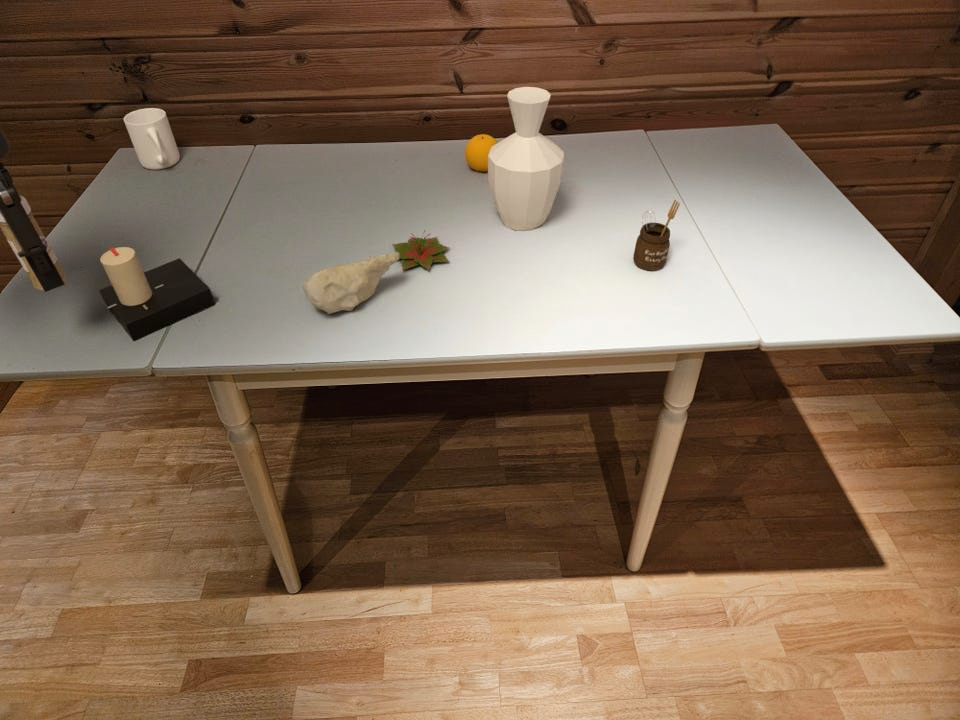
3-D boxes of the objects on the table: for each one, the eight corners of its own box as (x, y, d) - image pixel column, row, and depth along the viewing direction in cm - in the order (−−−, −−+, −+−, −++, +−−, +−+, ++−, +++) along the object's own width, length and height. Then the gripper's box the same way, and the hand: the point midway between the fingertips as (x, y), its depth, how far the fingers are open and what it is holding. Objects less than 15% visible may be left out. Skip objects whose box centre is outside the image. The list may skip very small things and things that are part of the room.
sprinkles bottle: (62, 290, 96) (17, 209, 87) (29, 292, 96) (-20, 211, 86) (71, 272, 99) (29, 192, 90) (40, 274, 99) (-6, 194, 90)
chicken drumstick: (295, 331, 110) (345, 305, 99) (279, 289, 109) (327, 260, 99) (364, 311, 121) (415, 286, 111) (349, 273, 120) (400, 245, 110)
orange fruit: (504, 162, 149) (505, 130, 144) (494, 178, 144) (495, 145, 139) (471, 157, 151) (471, 125, 146) (460, 173, 146) (459, 140, 140)
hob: (129, 343, 105) (121, 325, 102) (103, 308, 111) (94, 290, 109) (215, 304, 112) (209, 287, 109) (185, 274, 118) (179, 257, 116)
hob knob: (157, 297, 107) (138, 254, 102) (126, 310, 105) (106, 267, 99) (145, 283, 110) (126, 241, 104) (115, 295, 108) (94, 253, 102)
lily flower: (382, 244, 125) (379, 223, 122) (442, 233, 128) (441, 213, 124) (395, 280, 117) (393, 258, 114) (460, 268, 119) (459, 246, 116)
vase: (529, 195, 138) (536, 74, 121) (573, 225, 130) (587, 99, 113) (473, 215, 132) (472, 91, 115) (515, 248, 124) (521, 118, 107)
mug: (148, 180, 143) (130, 133, 136) (137, 159, 151) (120, 113, 143) (188, 170, 147) (173, 124, 139) (176, 150, 154) (160, 104, 147)
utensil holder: (626, 257, 122) (637, 199, 113) (656, 250, 123) (668, 193, 115) (642, 274, 118) (654, 216, 109) (673, 267, 119) (687, 209, 111)
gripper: (15, 140, 78) (95, 295, 94) (-22, 97, 88) (56, 245, 104) (-56, 160, 74) (39, 318, 91) (-87, 113, 84) (4, 263, 100)
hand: (48, 279), depth 97 cm, fingers closed on sprinkles bottle, 4 cm apart
